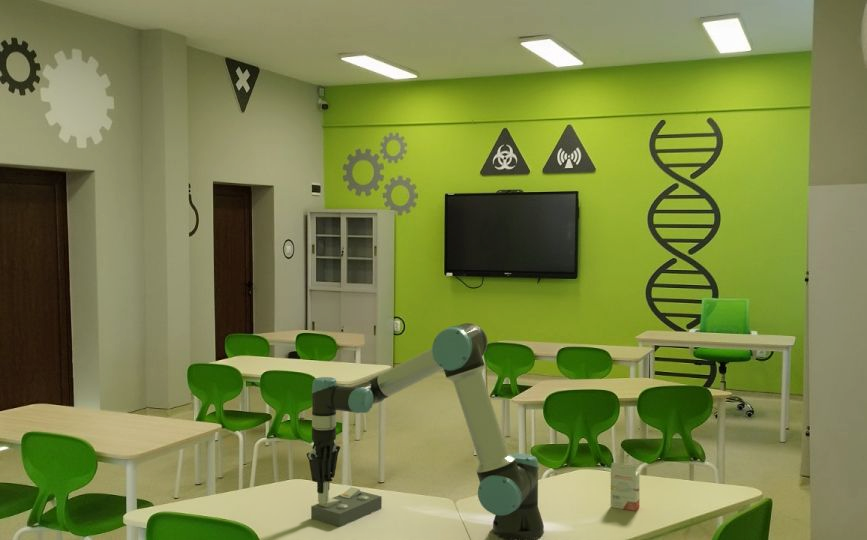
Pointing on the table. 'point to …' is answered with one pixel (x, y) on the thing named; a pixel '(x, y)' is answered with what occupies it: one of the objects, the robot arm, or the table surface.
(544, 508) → the table surface
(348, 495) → the rocker
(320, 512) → the switch panel
